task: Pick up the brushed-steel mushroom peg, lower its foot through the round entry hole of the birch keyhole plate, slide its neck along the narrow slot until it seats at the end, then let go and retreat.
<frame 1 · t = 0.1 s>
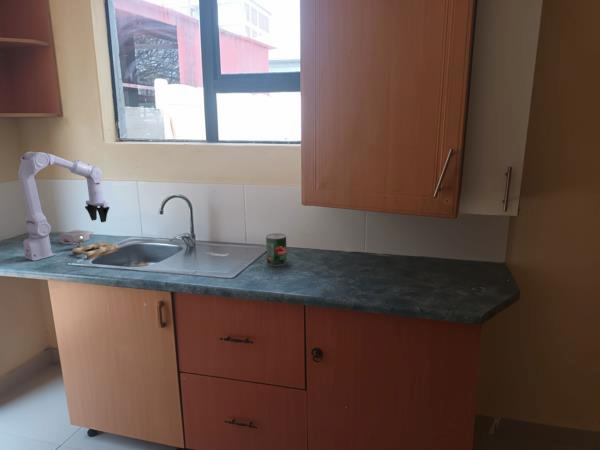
hand: (98, 221, 208), 10 cm above the countertop, fingers open, 7 cm apart
peg: (80, 248, 199), on the countertop
keyhole plate: (96, 252, 192), on the countertop
canned tomato: (276, 263, 174), on the countertop
charger: (80, 240, 215), on the countertop
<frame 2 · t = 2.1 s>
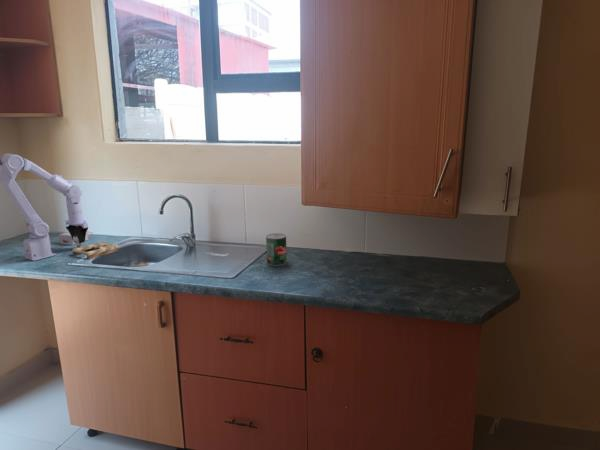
hand: (79, 241, 198), 3 cm above the countertop, fingers closed on peg, 4 cm apart
peg: (80, 248, 199), on the countertop, touching gripper
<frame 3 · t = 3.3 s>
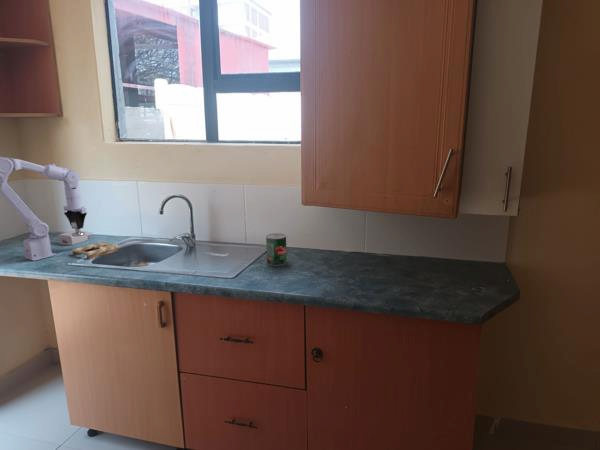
hand: (77, 227, 197), 10 cm above the countertop, fingers closed on peg, 4 cm apart
peg: (78, 234, 197), point 7 cm above the countertop, touching gripper
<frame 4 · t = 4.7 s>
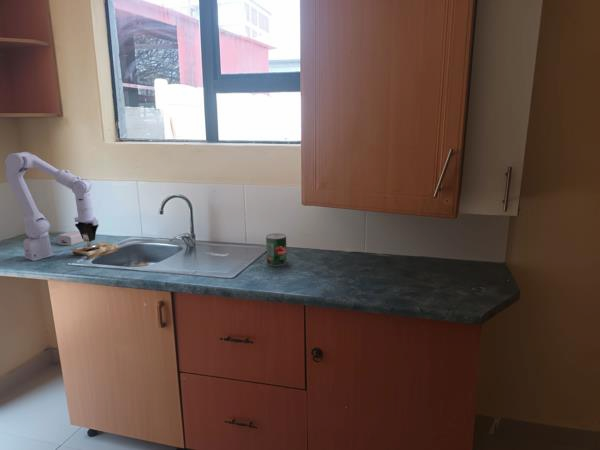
hand: (88, 239, 189), 7 cm above the countertop, fingers closed on peg, 4 cm apart
peg: (90, 247, 190), point 3 cm above the countertop, touching gripper
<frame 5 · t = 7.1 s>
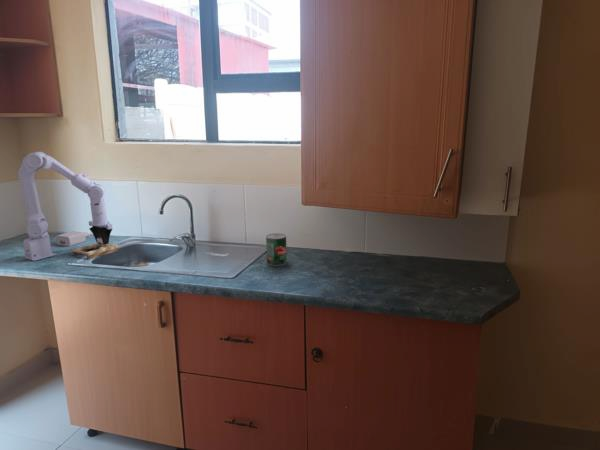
hand: (102, 243, 195), 3 cm above the countertop, fingers closed on peg, 4 cm apart
peg: (103, 250, 195), on the countertop, touching gripper
when the fingers open (3 cm above the countertop, at t = 8.1 s): peg stays where it is, on the countertop.
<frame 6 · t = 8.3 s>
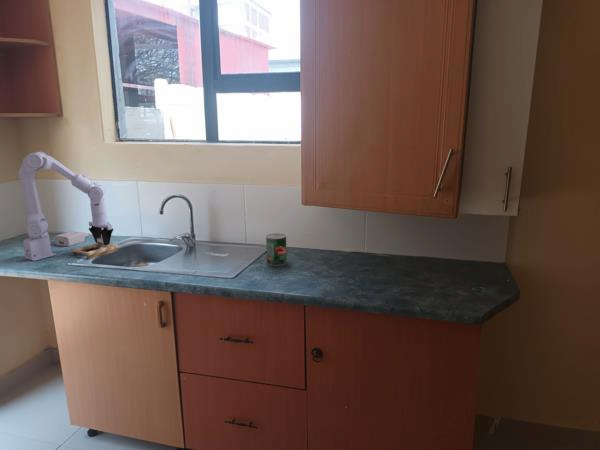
hand: (102, 243, 195), 3 cm above the countertop, fingers open, 6 cm apart
peg: (103, 250, 195), on the countertop
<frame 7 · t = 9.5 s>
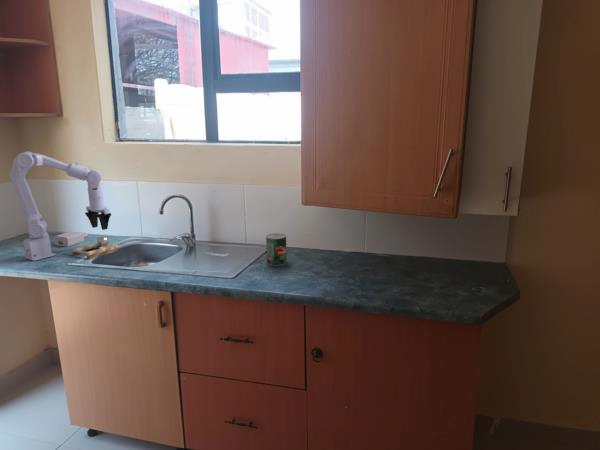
hand: (99, 228, 195), 10 cm above the countertop, fingers open, 7 cm apart
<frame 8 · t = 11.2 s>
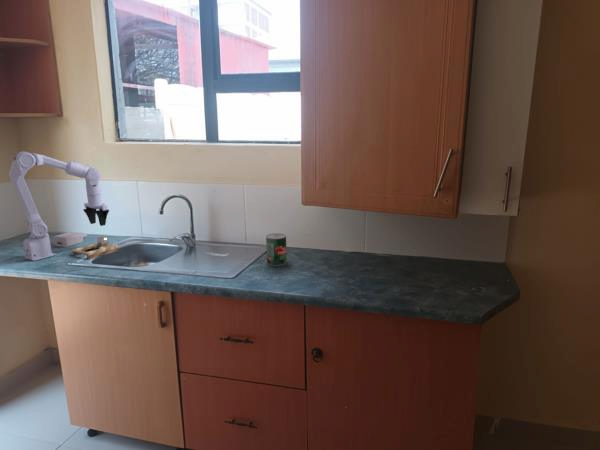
hand: (97, 224, 200), 10 cm above the countertop, fingers open, 7 cm apart
at the end: peg 0.0 cm from the target spot on the keyhole plate, point 0.0 cm above the keyhole plate's base; peg tilted 0°; the gripper is holding nothing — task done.
